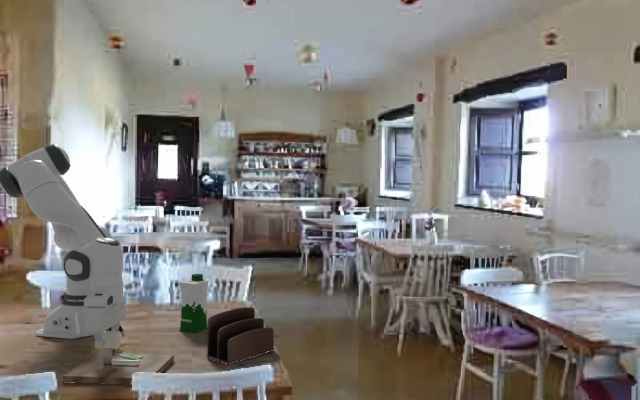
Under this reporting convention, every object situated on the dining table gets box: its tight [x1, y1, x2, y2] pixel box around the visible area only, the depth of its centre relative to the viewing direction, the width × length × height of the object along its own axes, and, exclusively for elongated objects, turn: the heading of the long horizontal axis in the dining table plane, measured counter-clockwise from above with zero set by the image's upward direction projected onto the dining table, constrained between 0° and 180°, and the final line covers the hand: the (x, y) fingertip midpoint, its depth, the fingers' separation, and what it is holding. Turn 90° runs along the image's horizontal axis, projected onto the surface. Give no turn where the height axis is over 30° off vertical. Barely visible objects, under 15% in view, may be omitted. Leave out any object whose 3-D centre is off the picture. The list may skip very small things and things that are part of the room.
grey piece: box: [94, 331, 139, 364], centre depth 179 cm, size 12×2×9 cm, turn 86°
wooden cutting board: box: [62, 351, 175, 385], centre depth 179 cm, size 24×22×2 cm
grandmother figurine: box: [106, 325, 126, 353], centre depth 199 cm, size 8×4×13 cm, turn 92°
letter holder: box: [206, 306, 275, 364], centre depth 196 cm, size 10×20×14 cm, turn 140°
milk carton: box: [178, 273, 209, 334], centre depth 226 cm, size 9×9×20 cm
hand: (107, 342), depth 179 cm, fingers open, 8 cm apart
